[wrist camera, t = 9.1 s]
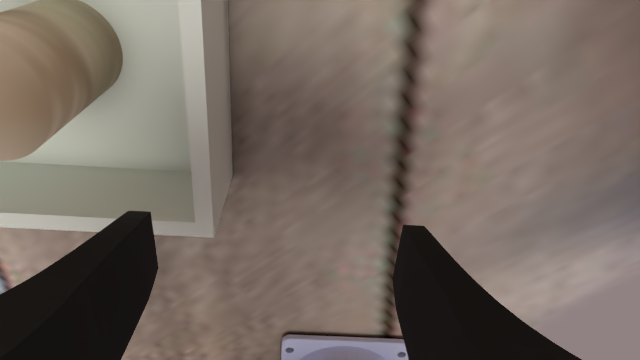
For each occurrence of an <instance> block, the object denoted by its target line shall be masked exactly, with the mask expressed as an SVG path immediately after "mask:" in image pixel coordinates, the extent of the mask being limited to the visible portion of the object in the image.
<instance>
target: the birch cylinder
mask: <svg viewBox="0 0 640 360" xmlns="http://www.w3.org/2000/svg"><path fill="white" fill-rule="evenodd" d="M122 63H123V54H122V48H121V44H120V41H119V39H118V37H117V34H116V33H115V31H114V29H113V28H112V26H111V25H110V24H109V22H108V21H107V20H106V19H105V18H104V17H103V16H102V15H101V14H100V13H99V12H98V11H97V10H95V9H94V8H92V7H91V6H89V5H87V4H85V3H84V2H81V1H79V0H39V1H35V2H32V3H29V4H26V5H22V6H19V7H16V8H13V9H10V10H6V11H3V12H0V161H8V160H15V159H20V158H23V157H25V156H28V155H29V154H31V153H33V152H34V151H36V150H37V149H38V148H39V147H40V146H41V145H43V144H44V143H45V142H46V141H47V140H49V139H50V138H51V137H52V136H53V135H54V134H56V133H57V132H58V131H59V130H60V129H62V128H63V127H64V126H65V125H66V124H67V123H69V122H70V121H71V120H72V119H73V118H75V117H76V116H77V115H78V114H79V113H80V112H82V111H83V110H84V109H85V108H86V107H88V106H89V105H90V104H91V103H92V102H93V101H95V100H96V99H97V98H98V97H99V96H101V95H102V94H103V93H104V92H105V91H106V90H108V89H109V88H110V87H111V86H112V85H113V84H114V83H115V82H116V80H117V79H118V77H119V75H120V72H121V69H122Z"/></svg>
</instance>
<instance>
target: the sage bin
mask: <svg viewBox="0 0 640 360" xmlns="http://www.w3.org/2000/svg"><path fill="white" fill-rule="evenodd" d="M35 1H39V0H0V12H3V11H6V10H10V9H13V8H16V7H19V6H22V5H26V4H29V3H32V2H35ZM79 1H81V2H84V3H85V4H87V5H89V6H91V7H92V8H94V9H95V10H97V11H98V12H99V13H100V14H101V15H102V16H103V17H104V18H105V19H106V20H107V21H108V22H109V24H110V25H111V26H112V28H113V29H114V31H115V33H116V34H117V37H118V39H119V41H120V44H121V48H122V54H123V63H122V69H121V72H120V75H119V77H118V79H117V80H116V82H115V83H114V84H113V85H112V86H111V87H110V88H109V89H108V90H106V91H105V92H104V93H103V94H102V95H101V96H99V97H98V98H97V99H96V100H95V101H93V102H92V103H91V104H90V105H89V106H88V107H86V108H85V109H84V110H83V111H82V112H80V113H79V114H78V115H77V116H76V117H75V118H73V119H72V120H71V121H70V122H69V123H67V124H66V125H65V126H64V127H63V128H62V129H60V130H59V131H58V132H57V133H56V134H54V135H53V136H52V137H51V138H50V139H49V140H47V141H46V142H45V143H44V144H43V145H41V146H40V147H39V148H38V149H37V150H36V151H34V152H33V153H31V154H29V155H28V156H25V157H23V158H20V159H15V160H8V161H0V227H9V228H29V229H49V230H69V231H89V232H100V231H101V230H102V229H104V228H105V227H107V226H108V225H109V224H111V223H112V222H113V221H115V220H116V219H117V218H119V217H120V216H122V215H123V214H124V213H126V212H127V211H147V212H151V218H152V225H153V233H154V235H168V236H188V237H208V238H214V236H215V232H216V229H217V226H218V223H219V220H220V216H221V213H222V210H223V207H224V204H225V200H226V197H227V194H228V191H229V187H230V184H231V181H232V178H233V164H232V126H231V89H230V52H229V15H228V0H79Z"/></svg>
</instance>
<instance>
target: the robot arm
mask: <svg viewBox="0 0 640 360" xmlns="http://www.w3.org/2000/svg"><path fill="white" fill-rule="evenodd" d="M157 270H158V262H157V255H156V247H155V240H154V233H153V225H152V218H151V212H147V211H127V212H126V213H124V214H123V215H122V216H120V217H119V218H117V219H116V220H115V221H113V222H112V223H111V224H109V225H108V226H107V227H105V228H104V229H102V230H101V231H100V232H98V233H97V234H96V235H94V236H93V237H92V238H90V239H89V240H87V241H86V242H85V243H83V244H82V245H80V246H79V247H78V248H76V249H75V250H73V251H72V252H70V253H69V254H67V255H66V256H64V257H63V258H61V259H60V260H58V261H57V262H55V263H54V264H52V265H51V266H49V267H48V268H46V269H44V270H43V271H41V272H40V273H38V274H36V275H35V276H33V277H31V278H30V279H28V280H26V281H24V282H23V283H21V284H19V285H17V286H15V287H14V288H12V289H10V290H8V291H6V292H4V293H2V294H1V295H0V360H121V358H122V356H123V354H124V352H125V350H126V347H127V345H128V343H129V341H130V339H131V337H132V335H133V332H134V330H135V328H136V326H137V324H138V322H139V320H140V317H141V315H142V313H143V311H144V309H145V306H146V304H147V302H148V300H149V297H150V294H151V290H152V287H153V284H154V281H155V277H156V274H157ZM393 288H394V297H395V304H396V311H397V315H398V319H399V323H400V327H401V331H402V335H403V339H388V338H363V337H339V336H315V335H286V336H284V337H283V338H282V349H281V360H408V358H409V360H581V359H580V358H578V357H576V356H575V355H573V354H571V353H569V352H568V351H566V350H565V349H563V348H561V347H560V346H558V345H556V344H555V343H553V342H552V341H550V340H549V339H547V338H546V337H544V336H543V335H542V334H540V333H539V332H537V331H536V330H534V329H533V328H531V327H530V326H528V325H527V324H526V323H524V322H523V321H522V320H520V319H519V318H518V317H516V316H515V315H514V314H513V313H511V312H510V311H509V310H508V309H506V308H505V307H504V306H503V305H501V304H500V303H499V302H498V301H497V300H495V299H494V298H493V297H492V296H491V295H490V294H489V293H488V292H486V291H485V290H484V289H483V288H482V287H481V286H480V285H479V284H478V283H477V282H476V281H475V280H474V279H473V278H472V277H471V276H470V275H469V274H468V273H467V272H466V271H465V270H464V269H463V268H462V267H461V266H460V265H459V264H458V263H457V262H456V261H455V260H454V259H453V258H452V257H451V256H450V254H449V253H448V252H447V251H446V250H445V249H444V248H443V247H442V246H441V244H440V243H439V242H438V241H437V240H436V239H435V238H434V237H433V235H432V234H431V233H430V232H429V231H428V230H427V229H426V228H425V227H424V226H414V225H403V228H402V233H401V239H400V244H399V249H398V254H397V259H396V264H395V269H394V274H393ZM289 347H290V348H289Z"/></svg>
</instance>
